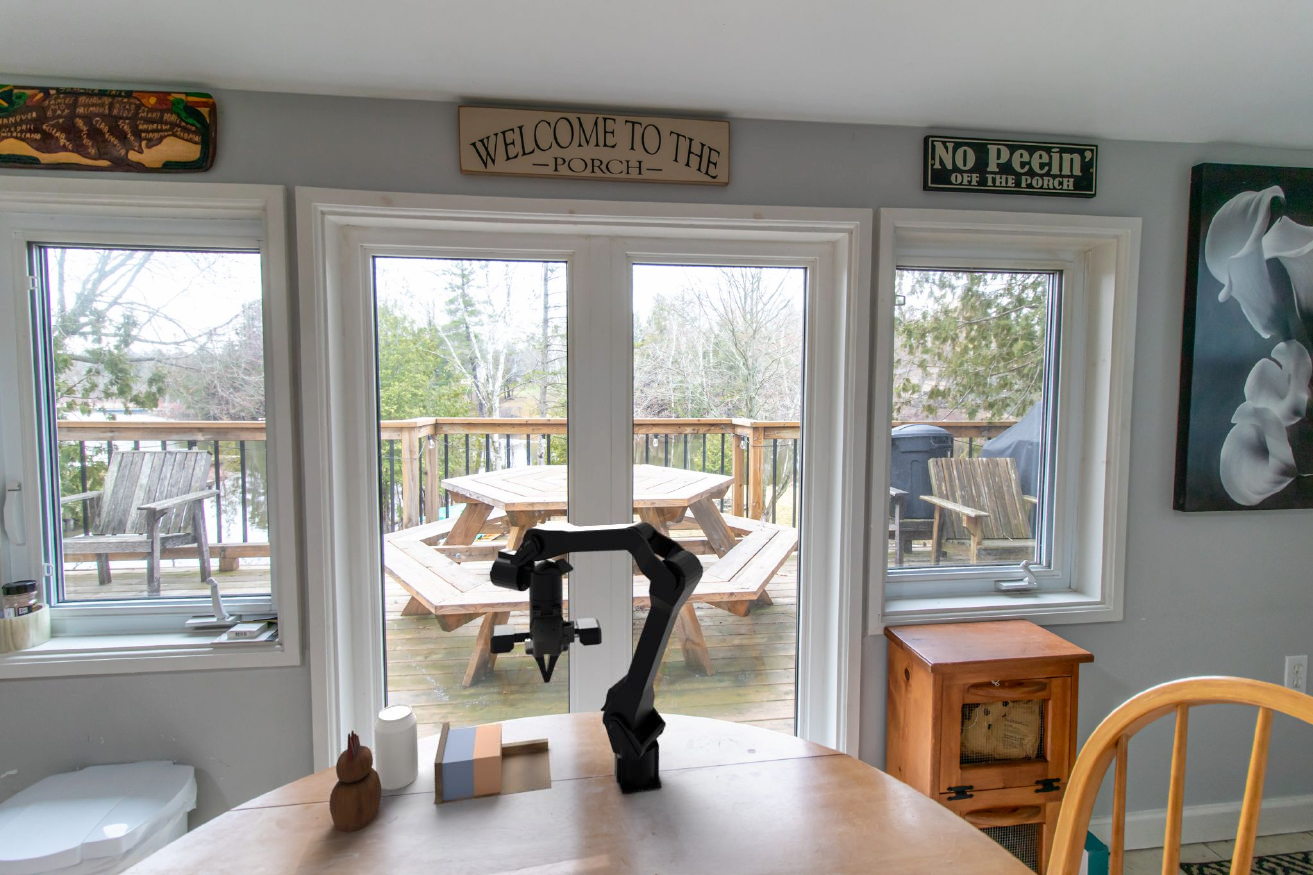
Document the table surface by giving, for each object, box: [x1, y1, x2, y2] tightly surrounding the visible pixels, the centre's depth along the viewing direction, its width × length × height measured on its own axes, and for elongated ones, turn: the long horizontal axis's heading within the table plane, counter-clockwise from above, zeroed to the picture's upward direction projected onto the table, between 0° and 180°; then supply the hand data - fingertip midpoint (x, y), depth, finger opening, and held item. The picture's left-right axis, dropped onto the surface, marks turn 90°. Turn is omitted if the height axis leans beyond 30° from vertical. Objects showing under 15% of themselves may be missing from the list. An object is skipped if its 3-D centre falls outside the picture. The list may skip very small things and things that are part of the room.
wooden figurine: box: [329, 730, 382, 833], centre depth 87 cm, size 7×6×15 cm
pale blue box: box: [442, 726, 477, 801], centre depth 96 cm, size 4×9×6 cm, turn 13°
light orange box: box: [473, 722, 503, 796], centre depth 97 cm, size 4×9×6 cm, turn 13°
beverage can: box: [373, 703, 419, 791], centre depth 96 cm, size 6×6×12 cm
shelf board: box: [433, 721, 552, 806], centre depth 98 cm, size 18×11×8 cm, turn 103°
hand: (546, 681), depth 106 cm, fingers closed
